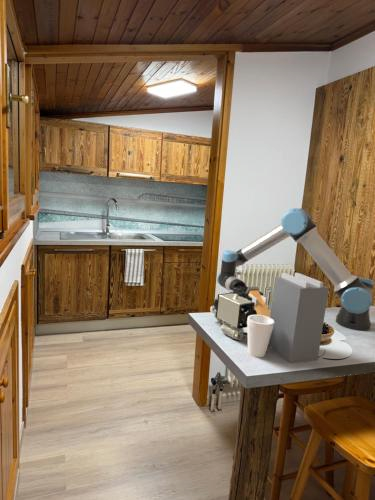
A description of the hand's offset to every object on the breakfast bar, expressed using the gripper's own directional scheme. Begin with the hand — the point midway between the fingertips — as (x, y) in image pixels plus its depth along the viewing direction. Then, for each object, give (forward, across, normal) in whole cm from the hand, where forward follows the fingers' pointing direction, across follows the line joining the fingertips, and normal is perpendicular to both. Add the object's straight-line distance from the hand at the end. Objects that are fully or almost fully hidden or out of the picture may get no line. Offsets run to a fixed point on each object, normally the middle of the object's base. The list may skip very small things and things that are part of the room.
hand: (261, 301), depth 150 cm
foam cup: (+22, +14, -12) cm, 29 cm away
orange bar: (0, 0, -6) cm, 6 cm away
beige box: (-8, +15, -12) cm, 21 cm away
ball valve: (+7, +16, -12) cm, 21 cm away
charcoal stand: (+23, 0, -12) cm, 26 cm away
